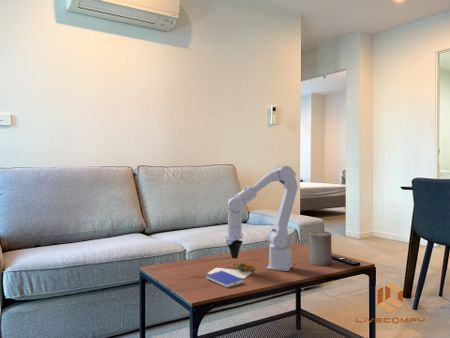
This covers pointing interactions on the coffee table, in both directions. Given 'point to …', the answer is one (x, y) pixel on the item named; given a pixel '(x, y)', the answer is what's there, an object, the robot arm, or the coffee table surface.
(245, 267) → the figurine
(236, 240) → the robot arm
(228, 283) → the hard drive
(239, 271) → the cream mat
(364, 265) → the coffee table surface
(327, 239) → the pillar candle
